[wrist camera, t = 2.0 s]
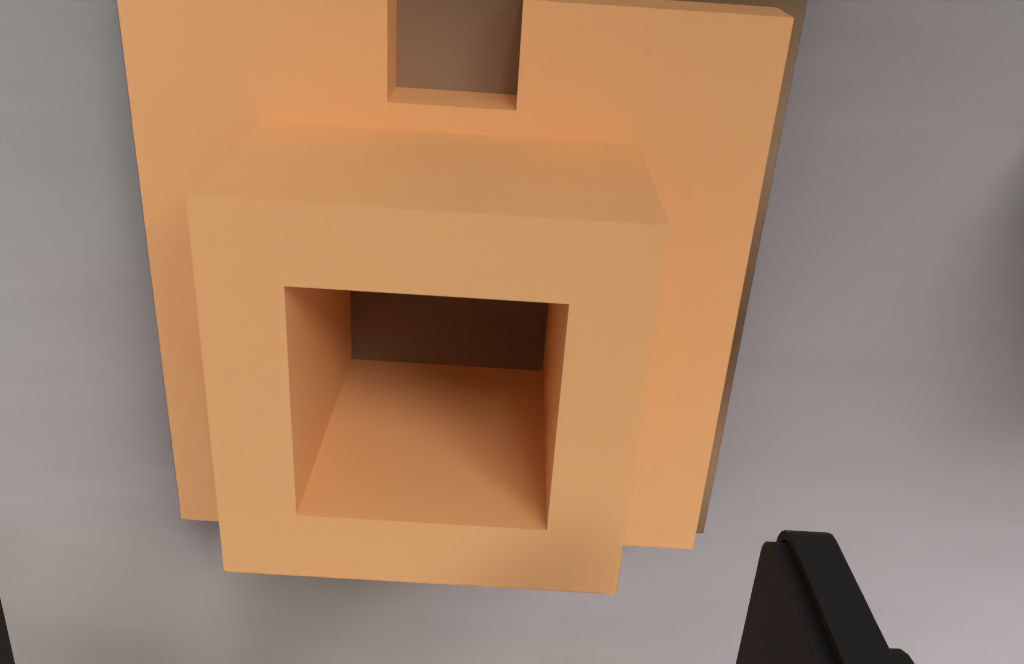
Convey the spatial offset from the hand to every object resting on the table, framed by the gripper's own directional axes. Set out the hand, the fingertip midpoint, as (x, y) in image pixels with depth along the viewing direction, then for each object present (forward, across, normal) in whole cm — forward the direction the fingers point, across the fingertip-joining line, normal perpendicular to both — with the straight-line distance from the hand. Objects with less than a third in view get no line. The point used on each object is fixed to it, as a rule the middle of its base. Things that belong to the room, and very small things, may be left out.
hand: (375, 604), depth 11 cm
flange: (+8, 0, -1) cm, 9 cm away
